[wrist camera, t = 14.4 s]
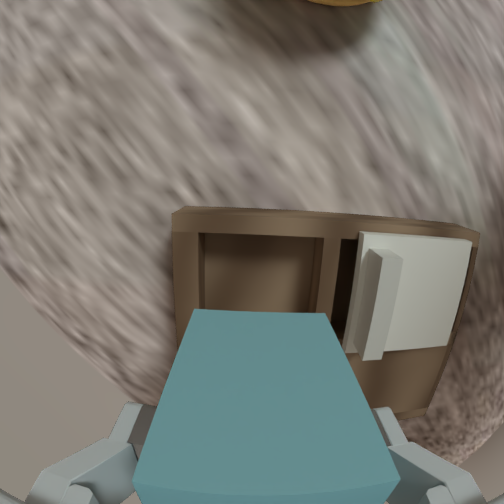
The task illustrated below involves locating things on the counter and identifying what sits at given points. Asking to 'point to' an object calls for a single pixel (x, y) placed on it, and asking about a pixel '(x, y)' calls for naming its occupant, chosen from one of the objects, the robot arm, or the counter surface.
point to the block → (263, 418)
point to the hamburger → (343, 2)
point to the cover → (404, 292)
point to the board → (304, 282)
